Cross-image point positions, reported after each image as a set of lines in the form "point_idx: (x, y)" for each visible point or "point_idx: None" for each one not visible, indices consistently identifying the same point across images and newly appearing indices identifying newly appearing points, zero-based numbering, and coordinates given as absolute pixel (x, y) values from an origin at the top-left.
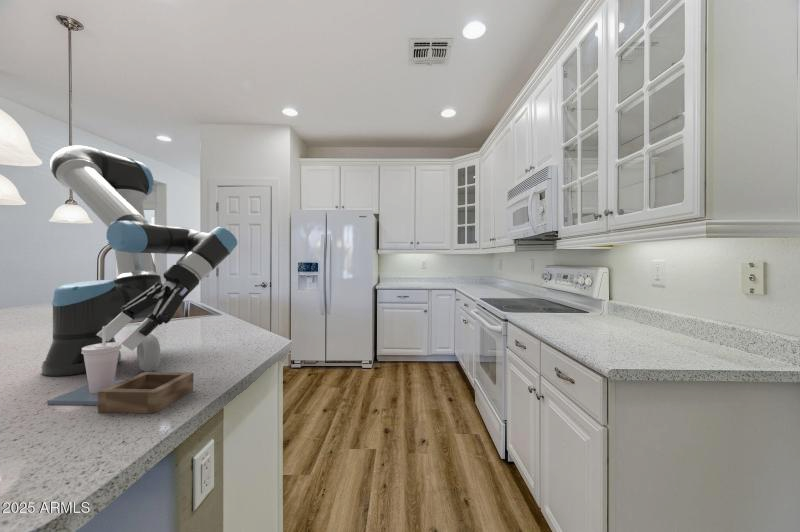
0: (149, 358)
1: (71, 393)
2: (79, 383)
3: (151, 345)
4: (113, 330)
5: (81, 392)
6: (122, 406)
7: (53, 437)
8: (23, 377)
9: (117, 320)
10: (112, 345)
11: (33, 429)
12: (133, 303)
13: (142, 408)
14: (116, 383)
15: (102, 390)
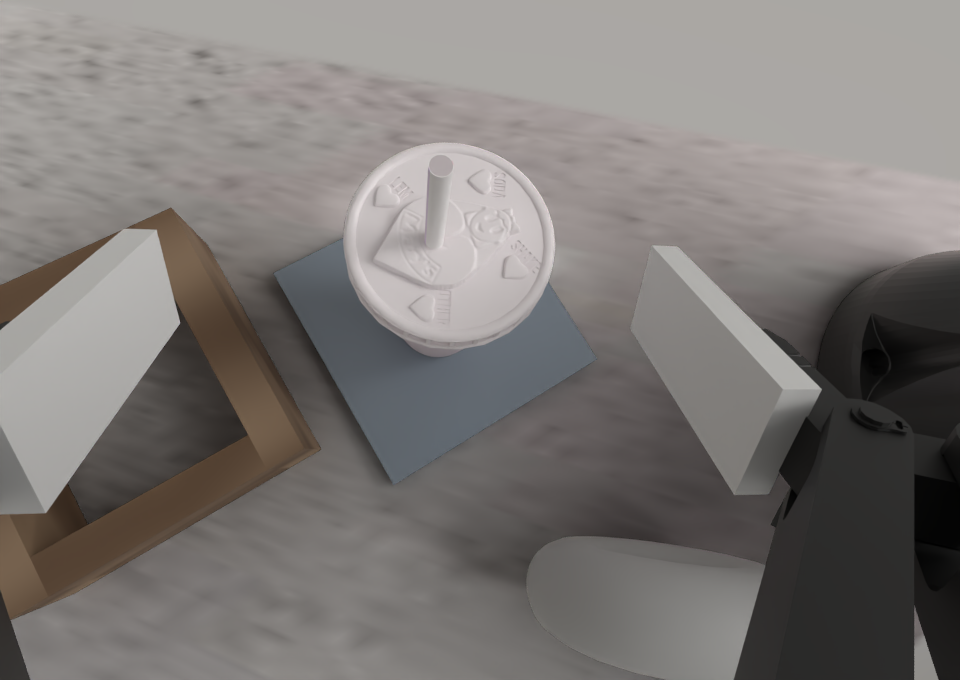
0: (537, 558)
1: None
2: None
3: (577, 595)
4: (670, 342)
5: None
6: None
7: (105, 108)
8: (932, 217)
9: (721, 353)
10: (418, 284)
11: (244, 97)
12: (908, 528)
13: None
14: (477, 384)
15: (170, 223)
